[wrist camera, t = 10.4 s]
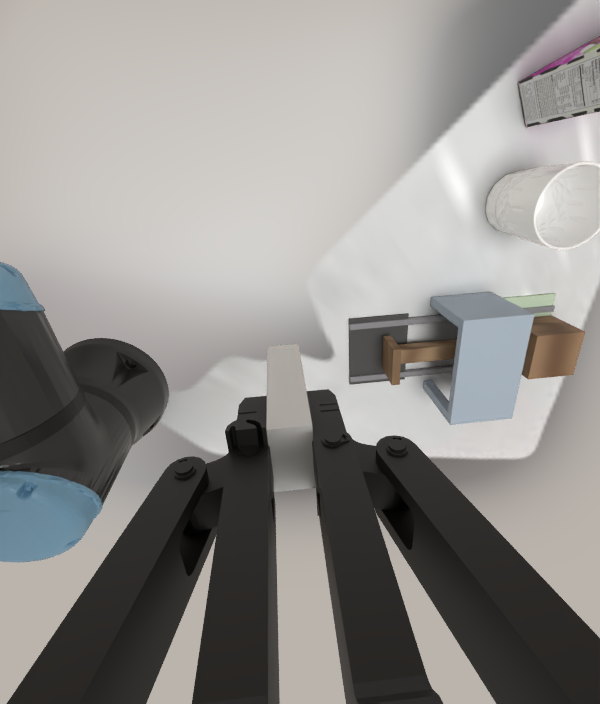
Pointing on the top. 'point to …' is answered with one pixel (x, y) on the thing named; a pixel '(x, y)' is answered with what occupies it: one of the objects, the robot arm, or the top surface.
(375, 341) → the dark grey flat plate
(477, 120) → the top surface
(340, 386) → the top surface
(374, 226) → the top surface
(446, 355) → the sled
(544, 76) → the candy bar box
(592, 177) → the white cup
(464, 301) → the tunnel
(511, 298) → the mat
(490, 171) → the top surface
